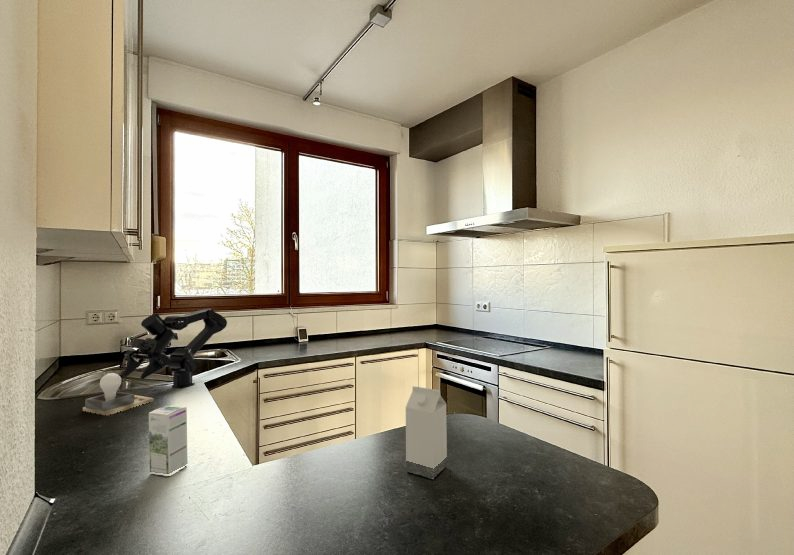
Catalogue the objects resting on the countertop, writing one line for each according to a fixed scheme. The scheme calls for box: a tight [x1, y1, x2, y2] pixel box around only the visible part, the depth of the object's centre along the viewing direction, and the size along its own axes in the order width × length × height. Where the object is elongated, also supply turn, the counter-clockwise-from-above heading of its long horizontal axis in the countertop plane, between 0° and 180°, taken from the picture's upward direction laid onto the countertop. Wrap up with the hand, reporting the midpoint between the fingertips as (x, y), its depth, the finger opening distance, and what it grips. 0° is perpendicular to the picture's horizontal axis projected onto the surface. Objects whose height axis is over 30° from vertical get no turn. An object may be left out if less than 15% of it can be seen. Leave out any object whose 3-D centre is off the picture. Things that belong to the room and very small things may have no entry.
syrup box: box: [148, 405, 189, 474], centre depth 91 cm, size 6×6×14 cm
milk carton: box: [405, 385, 448, 469], centre depth 90 cm, size 7×7×19 cm
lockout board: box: [82, 390, 154, 417], centre depth 138 cm, size 16×13×4 cm
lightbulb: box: [99, 372, 122, 401], centre depth 135 cm, size 6×6×11 cm
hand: (132, 377), depth 142 cm, fingers open, 9 cm apart
